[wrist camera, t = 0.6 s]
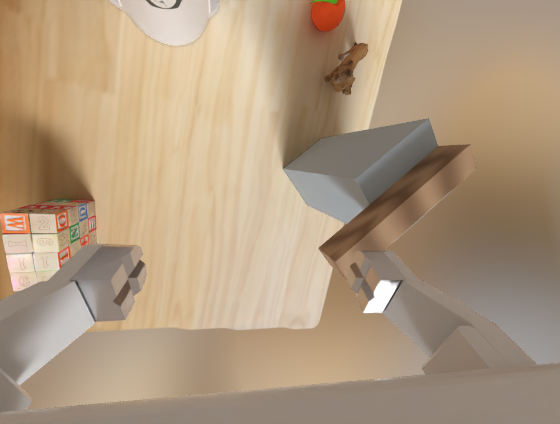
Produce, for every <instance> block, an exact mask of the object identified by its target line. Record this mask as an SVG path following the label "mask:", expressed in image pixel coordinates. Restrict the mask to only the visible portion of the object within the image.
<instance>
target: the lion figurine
mask: <svg viewBox="0 0 560 424" xmlns="http://www.w3.org/2000/svg"><path fill="white" fill-rule="evenodd" d="M367 52H368V45H367V44H364V43H360V44H357V43H356V42H355V44H354V47H352V48H351V49H350V50H349V51H347V52H345V53H344V54H340V55H339V59H340V60H342V59H343V58H344V57H346V56H347V55H348V56H347V57H346V58H345V59H344V60H343V61H342V63H341V64H340V66H338V67H337V68H336V69H335V70H333V71H332V72H331V73H330V74H329V75H328V76H326V77H325V81H326V82H328V81H329V80H330V79H331V80H332V82H331V83H332V84H333V87H334V90H335V91H336V92H340V91H342V92H343V94H345V95H348V94H351V87H352V84H353V81H355V79H356V78H354V77H353V70H354V68H355V67H356V65H357V63H358V61H360V60H361V59H363V58H364V57H365V56H366V54H367ZM349 54H350V55H349Z"/></svg>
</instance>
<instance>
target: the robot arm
mask: <svg viewBox="0 0 560 424" xmlns="http://www.w3.org/2000/svg"><path fill="white" fill-rule="evenodd" d="M109 1H110V2H111V3H112V4H113V5H115V6H116V7H118V8H119V9H121V10H122V11H124V12H125V13H126V14H127V15H128V16H129V17H130V18H131V19H132V20H133V21H134V23H135V24H136V25H137V26H138V27H139V28H140V29H141V30H142V31H143V32H144V33H145V34H147V35H148V36H149V37H151V38H153V39H154V40H156V41H158V42H161V43H164V44H167V45H174V46H179V45H185V44H188V43H191V42H193V41H194V40H196V39H197V38H198V37H199V36H200V35H201V33H202V32H203V30H204V28H205V26H206V23H207V21H208V20H209V18H211V17H212V16H213V15H214V14H216V13H217V11H218V10H219V0H109ZM142 255H143V253H142V250H141V247H140V246H138V245H118V244H86V245H84V246H83V247H82V248H81V249H80V250H79V251H78V252H76V253H75V254H74V255H73V256H72V257H71V258H70V259H69V260H68V261H67V262H66V263H65V264H64V265H63V266H62V267H61V268H60V269H59V270H58V271H57V272H56V273H55V274H54V275H53V276H52V277H51V278H50V279H49V280H48V281H40V282H38V283H36V284H34V285H32V286H30V287H28V288H25V289H23V290H21V291H19V292H17V293H15V294H13V295H11V296H9V297H6V298H4V299H2V300H0V424H560V363H550V364H539V365H537V364H536V363H535V362H534V361H533V360H532V359H531V358H530V357H529V356H528V355H527V354H526V353H525V352H524V351H523V350H522V349H521V348H520V347H519V346H518V345H517V344H516V343H515V342H514V341H513V340H512V339H511V338H510V337H509V336H508V335H507V334H506V333H505V332H504V331H503V330H502V329H501V328H500V327H499V326H497V324H496V323H494V322H492V321H490V320H489V319H487V318H485V317H484V316H482V315H480V314H478V313H477V312H475V311H474V310H472V309H470V308H468V307H467V306H465V305H463V304H462V303H460V302H458V301H456V300H455V299H453V298H451V297H450V296H448V295H446V294H445V293H443V292H441V291H439V290H438V289H436V288H434V287H433V286H431V285H429V284H428V283H426V282H424V281H422V280H421V281H420V280H418V279H417V278H416V276H415V275H414V274H413V273H412V272H411V271H410V269H409V268H408V267H407V266H406V265H405V264H404V263H403V261H402V260H401V259H400V258H399V257H398V256H397V254H396V253H394V252H393V251H357V252H356V253H355V254H354V256H353V259H354V263H353V264H351V265H350V266H349V269H348V282H349V285H350V287H351V289H352V290H354V291H355V292H356V293H357V295H356V299H357V301H358V303H359V305H360V307H361V309H362V311H363V313H383V314H384V315H385V316H386V317H387V318H388V319H389V320H390V321H391V322H392V323H394V324H395V325H396V326H397V327H398V328H399V329H400V330H401V331H402V332H403V333H404V334H405V335H406V336H408V337H409V338H410V339H411V340H412V341H413V342H414V343H415V344H416V345H417V346H418V347H419V348H420V349H422V350H423V351H424V352H425V353H426V354H427V355H428V356H429V357H430V358H429V359H428V360H427V361H426V362H425V363H424V364H423V367H422V369H423V371H424V373H425V375H415V376H403V377H392V378H381V379H370V380H358V381H347V382H337V383H326V384H325V383H324V384H313V385H302V386H291V387H280V388H268V389H257V390H246V391H234V392H223V393H212V394H201V395H189V396H178V397H167V398H155V399H144V400H134V401H122V402H110V403H99V404H88V405H77V406H66V407H54V408H43V409H32V410H26V409H27V408H28V406H29V405H30V403H31V397H30V395H28V394H27V393H26V392H25V391H24V390H23V389H22V388H21V387H20V386H19V385H20V384H22V383H23V382H24V381H25V380H27V379H28V378H29V377H30V376H32V375H33V374H34V373H35V372H36V371H38V370H39V369H40V368H41V367H42V366H44V365H45V364H46V363H47V362H49V361H50V360H51V359H52V358H53V357H55V356H56V355H57V354H58V353H60V352H61V351H62V350H63V349H64V348H66V347H67V346H68V345H69V344H70V343H72V342H73V341H74V340H75V339H77V338H78V337H79V336H80V335H81V334H83V333H84V332H85V331H86V330H87V329H89V328H90V327H91V326H92V325H94V324H95V322H98V321H116V320H126V318H127V316H128V314H129V312H130V310H131V308H132V306H133V305H134V303H135V300H134V297H133V296H134V295H135V294H137V293H138V292H140V291H141V289H142V287H143V285H144V283H145V278H146V266H145V263H143V262H142V261H141V260H140V258H141V256H142Z"/></svg>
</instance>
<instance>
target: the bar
mask: <svg viewBox="0 0 560 424" xmlns="http://www.w3.org/2000/svg"><path fill="white" fill-rule="evenodd" d="M476 168H477V167H476V163H475V159H474V156H473V153H472V149H471V145H470V144H468V145H450V146H438V147H436V148H435V149H434V150H433V151H432V152H431V153H429V154H428V155H427V156H426V157H425V158H424V159H422V160H421V161H420V162H419V163H418V164H417V165H415V166H414V167H413V168H412V169H411V170H410V171H408V172H407V173H406V174H405V175H404V176H402V177H401V178H400V179H399V180H398V181H397V182H395V183H394V184H393V185H392V186H391V187H390V188H388V189H387V190H386V191H385V192H384V193H383V194H381V195H380V196H379V197H378V198H377V199H376V200H374V201H373V202H372V203H371V204H370V205H368V206H367V207H366V208H365V209H364V210H363V211H361V212H360V213H359V214H358V215H357V216H356V217H354V218H353V219H352V220H351V221H350V222H349V223H347V224H346V225H345V226H344V227H343V228H342V229H340V230H339V231H338V232H337V233H336V234H334V235H333V236H332V237H331V238H330V239H329V240H327V241H326V242H325V243H324V244H323V245H322V246H320V247H319V250H320V251H321V253H322V254H323V255H324V257H325V258H326V260H327V261H328V262H329V264H330V265H331V266H332V267H333V268H334V269H335V270H336V271H337V272H339V273H340V274H341V275H342V276H343V277H344V278H345V279H347V280H348V269H349V266H350V265H351V264H353V263H354V259H353V256H354V254H355V253H356V252H357V251H384V250H385V249H386V248H387V247H388V246H390V245H391V244H392V243H393V242H394V241H395V240H396V239H398V238H399V237H400V236H401V235H402V234H403V233H404V232H405V231H407V230H408V229H409V228H410V227H411V226H412V225H413V224H414V223H416V222H417V221H418V220H419V219H420V218H421V217H422V216H423V215H425V214H426V213H427V212H428V211H429V210H430V209H431V208H432V207H434V206H435V205H436V204H437V203H438V202H439V201H440V200H441V199H443V198H444V197H445V196H446V195H447V194H448V193H449V192H450V191H451V190H453V189H454V188H455V187H456V186H457V185H458V184H459V183H460V182H462V180H464V179H465V178H466V177H467V176H468V175H469V174H471V173H472V172H473V171H474V170H475V169H476Z"/></svg>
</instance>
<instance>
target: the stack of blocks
mask: <svg viewBox="0 0 560 424" xmlns="http://www.w3.org/2000/svg"><path fill="white" fill-rule="evenodd" d="M0 219H1V224H2V230H3V233H4V234H3V235H2V237H3V243H4V248H5V252H6V259H7V264H8V268H9V272H10V277H11V281H12V286H13V291H20V290H23V289H25V288H28V287H30V286H32V285H34V284H36V283H38V282H40V281H48V280H49V279H50V278H51V277H52V276H53V275H54V274H55V273H56V272H57V271H58V270H59V269H60V268H61V267H62V266H63V265H64V264H65V263H66V262H67V261H68V260H69V259H70V258H71V257H72V256H73V255H74V254H75V253H76V252H78V251H79V250H80V249H81V248H82V247H83V246H84V245H86V244H97V237H96V216H95V201H94V200H66V199H54V200H50V201H47V202H43V203H39V204H34V205H29V206H25V207H21V208H18V209H15V210H11V211H6V212H2V213H0Z"/></svg>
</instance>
